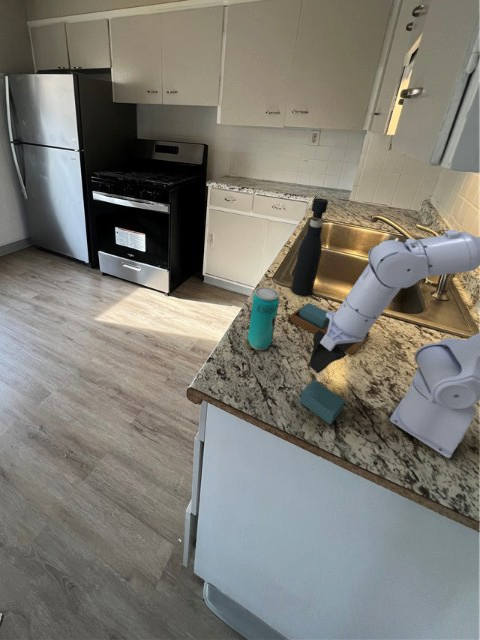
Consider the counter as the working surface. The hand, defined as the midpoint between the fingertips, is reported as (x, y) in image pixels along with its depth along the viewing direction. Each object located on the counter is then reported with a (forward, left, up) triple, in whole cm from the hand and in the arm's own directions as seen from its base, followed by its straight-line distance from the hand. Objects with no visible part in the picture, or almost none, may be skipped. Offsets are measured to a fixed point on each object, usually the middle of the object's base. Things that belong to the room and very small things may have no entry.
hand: (323, 361), depth 59 cm
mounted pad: (+13, -23, -10) cm, 28 cm away
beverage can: (+17, -4, -10) cm, 20 cm away
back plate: (+9, -23, -10) cm, 27 cm away
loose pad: (-2, +1, -10) cm, 10 cm away
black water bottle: (+24, -35, -10) cm, 44 cm away
